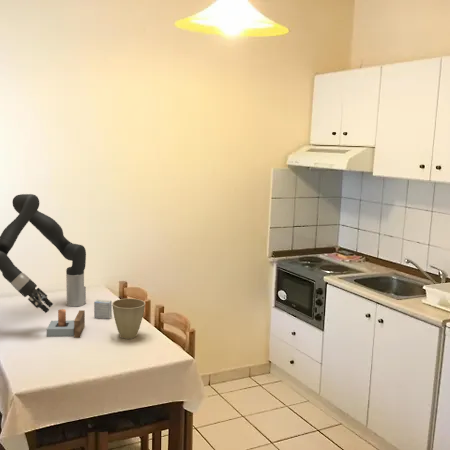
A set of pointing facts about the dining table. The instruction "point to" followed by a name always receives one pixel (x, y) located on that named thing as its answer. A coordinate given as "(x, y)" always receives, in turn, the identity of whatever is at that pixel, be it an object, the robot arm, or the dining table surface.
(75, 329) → the backstop wall
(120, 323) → the plant pot
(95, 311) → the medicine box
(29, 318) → the dining table surface
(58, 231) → the robot arm
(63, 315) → the dowel
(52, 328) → the pocket block
